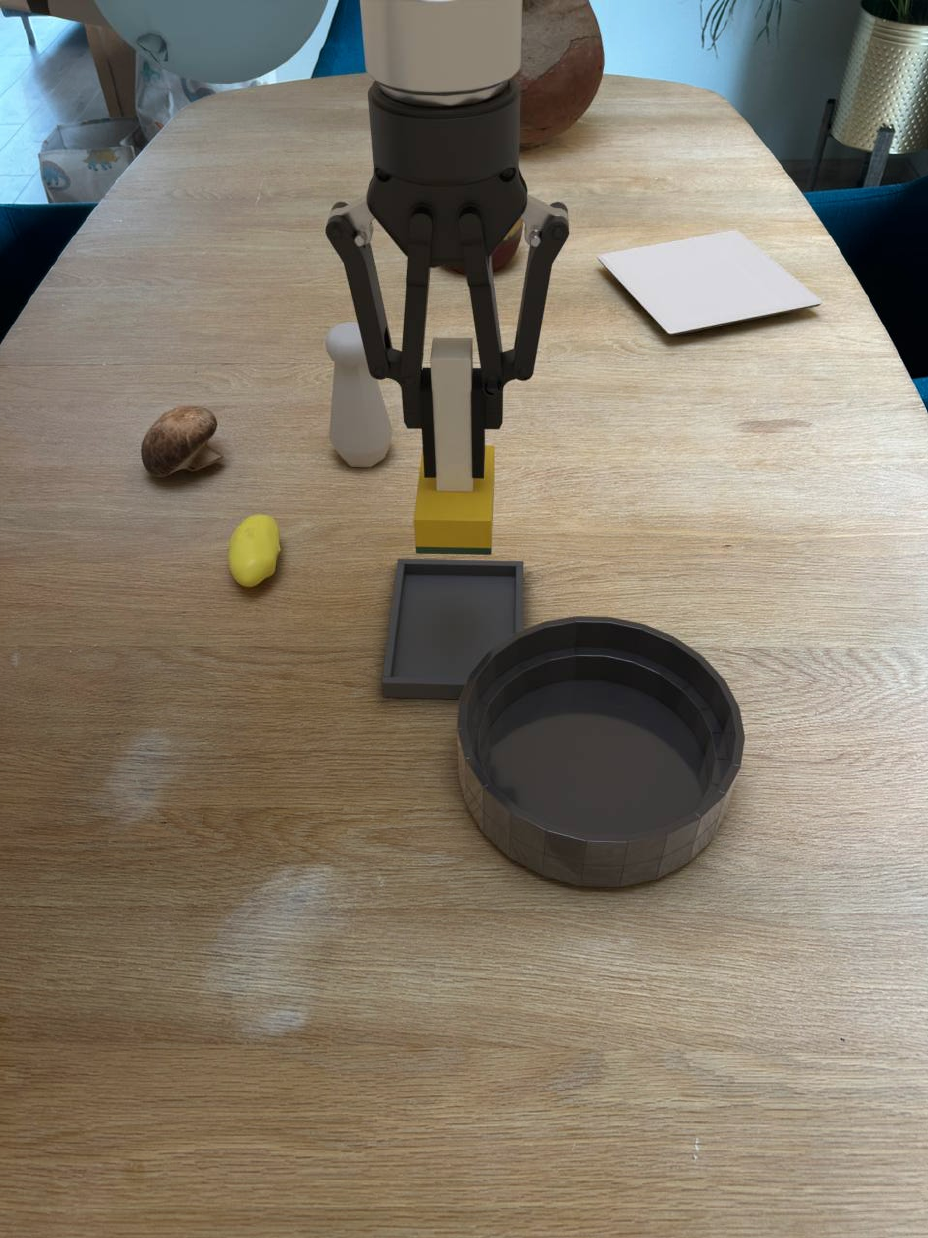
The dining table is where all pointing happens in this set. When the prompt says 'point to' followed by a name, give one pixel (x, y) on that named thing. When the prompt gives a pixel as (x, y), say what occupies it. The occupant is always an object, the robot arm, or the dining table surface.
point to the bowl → (598, 750)
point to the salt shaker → (356, 401)
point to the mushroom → (180, 441)
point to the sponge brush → (454, 463)
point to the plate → (707, 282)
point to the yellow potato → (254, 550)
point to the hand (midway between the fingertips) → (455, 464)
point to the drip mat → (448, 623)
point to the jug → (557, 67)
